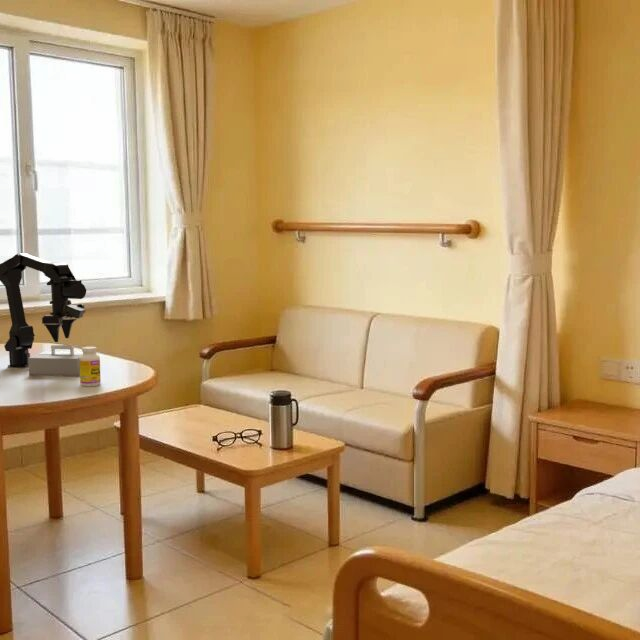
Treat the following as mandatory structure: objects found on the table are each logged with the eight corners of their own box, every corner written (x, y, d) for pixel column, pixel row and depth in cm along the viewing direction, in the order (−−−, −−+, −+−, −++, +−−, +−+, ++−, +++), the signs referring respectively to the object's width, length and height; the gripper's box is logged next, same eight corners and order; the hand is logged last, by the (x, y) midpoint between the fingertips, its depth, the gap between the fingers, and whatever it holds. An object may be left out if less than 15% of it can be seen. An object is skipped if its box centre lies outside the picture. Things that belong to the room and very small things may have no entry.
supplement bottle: (91, 387, 260) (90, 349, 258) (76, 386, 262) (74, 348, 261) (104, 383, 266) (103, 346, 264) (89, 382, 268) (88, 345, 267)
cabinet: (29, 375, 279) (28, 357, 279) (46, 367, 293) (45, 351, 292) (77, 376, 278) (76, 358, 277) (92, 368, 291) (91, 352, 291)
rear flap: (37, 355, 286) (37, 345, 285) (46, 351, 292) (45, 342, 292) (84, 356, 284) (83, 346, 284) (91, 352, 291) (91, 343, 290)
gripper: (70, 300, 273) (72, 344, 276) (91, 295, 292) (92, 336, 294) (40, 300, 275) (42, 344, 277) (62, 295, 293) (64, 336, 295)
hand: (61, 340), depth 286 cm, fingers open, 9 cm apart
